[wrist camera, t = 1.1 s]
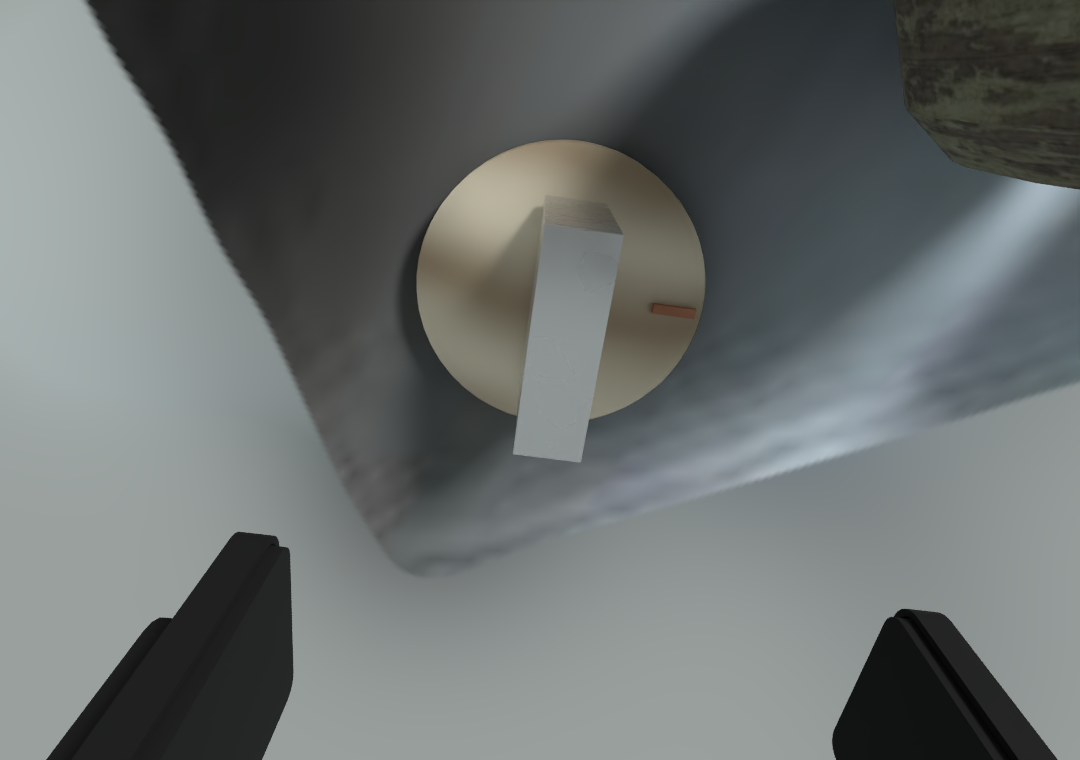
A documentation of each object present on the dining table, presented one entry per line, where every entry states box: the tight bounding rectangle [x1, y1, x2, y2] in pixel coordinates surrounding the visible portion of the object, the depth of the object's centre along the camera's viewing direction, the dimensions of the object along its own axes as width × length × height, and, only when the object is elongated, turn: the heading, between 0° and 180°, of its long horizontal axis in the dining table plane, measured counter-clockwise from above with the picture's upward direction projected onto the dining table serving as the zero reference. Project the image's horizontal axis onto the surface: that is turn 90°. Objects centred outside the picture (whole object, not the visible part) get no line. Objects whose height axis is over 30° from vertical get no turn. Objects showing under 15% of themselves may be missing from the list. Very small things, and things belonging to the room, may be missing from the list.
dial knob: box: [513, 195, 624, 463], centre depth 24 cm, size 10×2×6 cm, turn 172°
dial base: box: [417, 139, 705, 419], centre depth 27 cm, size 12×12×2 cm
